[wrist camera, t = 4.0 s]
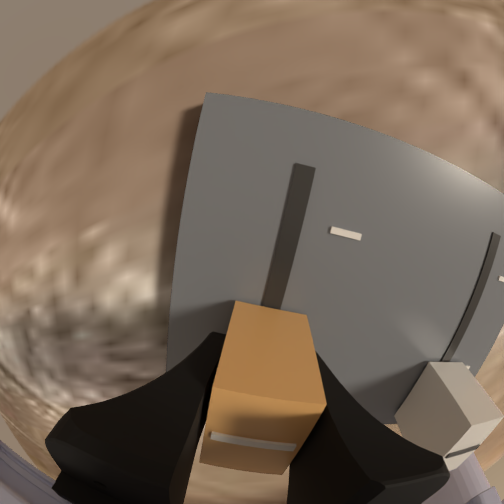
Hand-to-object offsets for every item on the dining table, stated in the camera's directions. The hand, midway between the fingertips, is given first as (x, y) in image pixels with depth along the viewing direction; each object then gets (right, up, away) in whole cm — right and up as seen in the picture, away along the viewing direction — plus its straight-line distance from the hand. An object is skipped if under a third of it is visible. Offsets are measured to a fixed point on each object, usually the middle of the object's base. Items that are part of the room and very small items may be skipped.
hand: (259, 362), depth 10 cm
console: (+6, +2, +2) cm, 6 cm away
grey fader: (+10, -3, +1) cm, 10 cm away
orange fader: (0, 0, +1) cm, 1 cm away
